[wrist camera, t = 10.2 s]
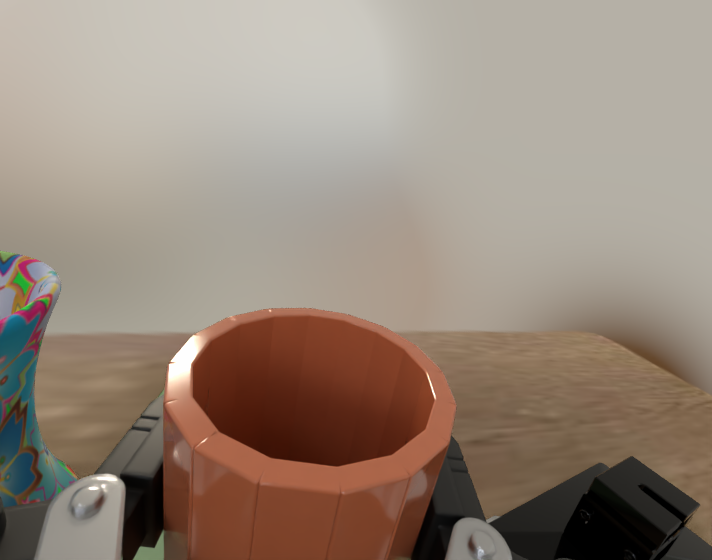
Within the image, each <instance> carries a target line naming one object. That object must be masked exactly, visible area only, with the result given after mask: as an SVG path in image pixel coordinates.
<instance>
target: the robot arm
mask: <svg viewBox="0 0 712 560" xmlns="http://www.w3.org/2000/svg"><path fill="white" fill-rule="evenodd" d="M163 398H164V394H163V395H161V396H160V397H158V398H157V399H155V400H154V401H152V402H151V403H150V404H149V406H148V407H147V408H146V409H145V411H144V412H143V413H142V414H141V417H140V418H138V419H137V421H136V422H135V423H134V424H133V426H132V428H131V429H129V431H128V432H127V433H126V435H125V436H124V437H123V438H122V440H121V441H120V442H119V443H118V445H117V446H116V447H115V448H114V450H113V451H112V452H111V453H110V455H109V456H108V457H107V458H106V460H105V461H104V462H103V463H102V465H101V466H100V467H99V468H98V470H97V471H96V472H95V473H94V474H93V475H91V476H88V477H85V478H82V479H79V480H77V481H75V482H73V483H72V484H70V485H68V486H67V487H66V488H64V489H63V490H62V491H61V492H59V493H58V494H57V495H56V496H55V498H53V499H50V500H45V501H40V502H34V503H28V504H21V505H15V506H9V507H4V506H3V502H2V498H1V497H0V560H133V559H134V557H135V555H136V553H137V551H138V550H139V548H140V547H149V548H155V546H156V544H157V542H158V540H159V538H160V536H161V534H162V532H163V530H164V520H163ZM463 459H464V458H463V455H462V453H461V450H460V447H459V444H458V443H457V442H456V440H455V439H454V438H453V437H452V435H451V439H450V444H449V446H448V449H447V452H446V455H445V458H444V461H443V464H442V467H441V470H440V473H439V476H438V479H437V482H436V485H435V488H434V491H433V493H432V496H431V499H430V502H429V505H428V508H427V511H426V514H425V517H424V520H423V523H422V526H421V529H420V532H419V535H418V538H417V541H416V543H415V546H414V549H413V552H412V555H411V558H410V559H411V560H528V559H526V558H523V557H521V556H519V555H517V554H515V553H514V552H512V551H511V550H510V549H509V547H508V545H507V543H506V541H505V540H504V538H503V537H502V536H501V535H500V533H499V532H498V531H497V530H496V529H495V528H493V527H492V526H491V525H489V524H488V523H487V522H486V519H485V517H484V514H483V511H482V508H481V505H480V503H479V500H478V497H477V494H476V492H475V489H474V486H473V483H472V480H471V478H470V475H469V474H468V469H467V467H466V464H465V461H463ZM556 560H572V559H568V558H559V559H556Z"/></svg>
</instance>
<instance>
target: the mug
mask: <svg viewBox="0 0 712 560" xmlns="http://www.w3.org/2000/svg"><path fill="white" fill-rule="evenodd" d="M60 291H61V281H60V278H59V276H58V274H57V273H56V272H55V270H54V269H52V268H51V267H50V266H48V265H47V264H45V263H43V262H41V261H38V260H36V259H33V258H30V257H27V256H23V255H19V254H15V253H9V252H3V251H0V497H1V498H2V502H3V506H4V507H9V506H15V505H21V504H28V503H34V502H40V501H45V500H50V499H53V498H55V496H56V495H57V494H58V493H59V492H61V491H62V490H63V489H64V488H66V487H67V486H68V485H70V484H72V483H73V482H75V481H77V480H78V478H77V476H76V475H75V473H74V472H73V470H72V469H71V468H70V467H69V466H68V465H66V464H65V463H64V462H62V461H60V460H58V459H57V458H55V457H54V456H53V455H52V454H51V452H50V451H49V450H48V448H47V447H46V445H45V443H44V441H43V439H42V436H41V434H40V431H39V427H38V423H37V419H36V413H35V402H34V385H35V373H36V365H37V360H38V356H39V351H40V346H41V343H42V339H43V336H44V332H45V329H46V326H47V323H48V321H49V318H50V316H51V313H52V311H53V308H54V306H55V304H56V302H57V300H58V297H59V294H60Z"/></svg>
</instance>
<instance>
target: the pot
mask: <svg viewBox="0 0 712 560" xmlns="http://www.w3.org/2000/svg"><path fill="white" fill-rule="evenodd" d="M456 410H457V406H456V402H455V399H454V397H453V395H452V392H451V390H450V387H449V385H448V382H447V380H446V377H445V375H444V373H443V372H442V370H441V369H440V368H439V367H438V366H437V365H436V364H435V363H434V362H433V361H432V360H431V359H430V358H429V357H428V356H427V355H426V354H425V353H424V352H423V351H422V350H421V349H420V348H419V347H417V346H416V345H415V344H413V343H411V342H410V341H408V340H406V339H404V338H403V337H401V336H399V335H398V334H396V333H394V332H392V331H391V330H389V329H387V328H385V327H383V326H381V325H378V324H375V323H372V322H369V321H366V320H363V319H360V318H357V317H354V316H351V315H347V314H343V313H337V312H330V311H324V310H318V309H312V308H274V309H273V308H272V309H263V310H259V311H254V312H249V313H245V314H240V315H235V316H231V317H229V318H225V319H223V320H221V321H219V322H217V323H215V324H213V325H211V326H209V327H207V328H205V329H203V330H201V331H199V332H197V333H195V334H194V335H193V336H191V337H190V339H189V340H188V341H187V342H186V343H185V344H184V345H183V347H182V348H181V349H180V350H179V351H178V352H177V354H176V355H175V356H174V357H173V358H172V359H171V360H170V362H169V363H168V366H167V369H166V379H165V388H164V398H163V520H164V560H410V558H411V555H412V552H413V549H414V546H415V543H416V541H417V538H418V535H419V532H420V529H421V526H422V523H423V520H424V517H425V514H426V511H427V508H428V505H429V502H430V499H431V496H432V493H433V491H434V488H435V485H436V482H437V479H438V476H439V473H440V470H441V467H442V464H443V461H444V458H445V455H446V452H447V449H448V446H449V444H450V439H451V435H452V430H453V425H454V420H455V415H456Z"/></svg>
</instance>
